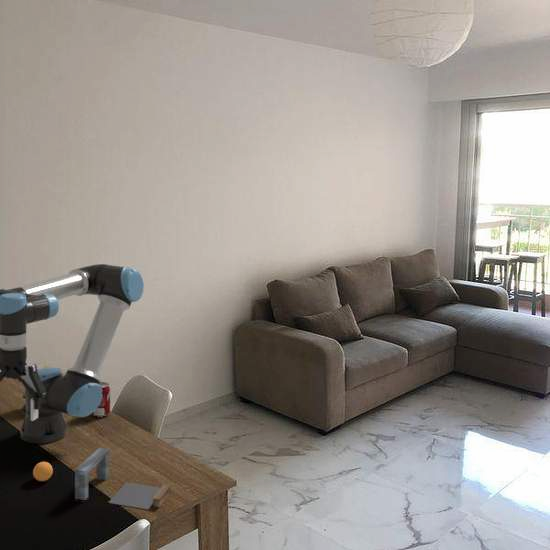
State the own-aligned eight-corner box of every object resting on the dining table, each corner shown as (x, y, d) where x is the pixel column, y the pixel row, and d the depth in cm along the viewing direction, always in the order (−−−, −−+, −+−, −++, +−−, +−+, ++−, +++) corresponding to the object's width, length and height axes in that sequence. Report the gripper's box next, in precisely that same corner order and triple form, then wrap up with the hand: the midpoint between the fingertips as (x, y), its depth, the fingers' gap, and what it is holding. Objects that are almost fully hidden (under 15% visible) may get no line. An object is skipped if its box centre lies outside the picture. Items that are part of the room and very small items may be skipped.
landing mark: (108, 503, 174) (108, 502, 174) (126, 482, 185) (126, 482, 185) (148, 510, 172) (148, 509, 171) (164, 488, 183) (164, 488, 183)
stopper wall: (152, 506, 173) (153, 498, 173) (163, 492, 181) (163, 484, 181) (159, 507, 173) (159, 499, 173) (170, 493, 181) (170, 485, 180)
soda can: (104, 419, 230) (105, 388, 228) (88, 416, 231) (88, 386, 229) (113, 412, 236) (113, 382, 234) (96, 410, 238) (97, 380, 236)
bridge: (75, 499, 174) (75, 469, 173) (99, 476, 188) (99, 447, 187) (84, 501, 174) (85, 471, 172) (108, 477, 188) (109, 449, 186)
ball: (29, 483, 182) (29, 465, 181) (39, 474, 187) (39, 457, 186) (46, 485, 181) (46, 468, 180) (56, 477, 186) (56, 460, 185)
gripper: (-35, 345, 178) (-33, 415, 181) (45, 355, 174) (45, 426, 177) (-18, 339, 185) (-17, 406, 189) (59, 348, 181) (59, 416, 184)
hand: (13, 416), depth 183 cm, fingers open, 13 cm apart
